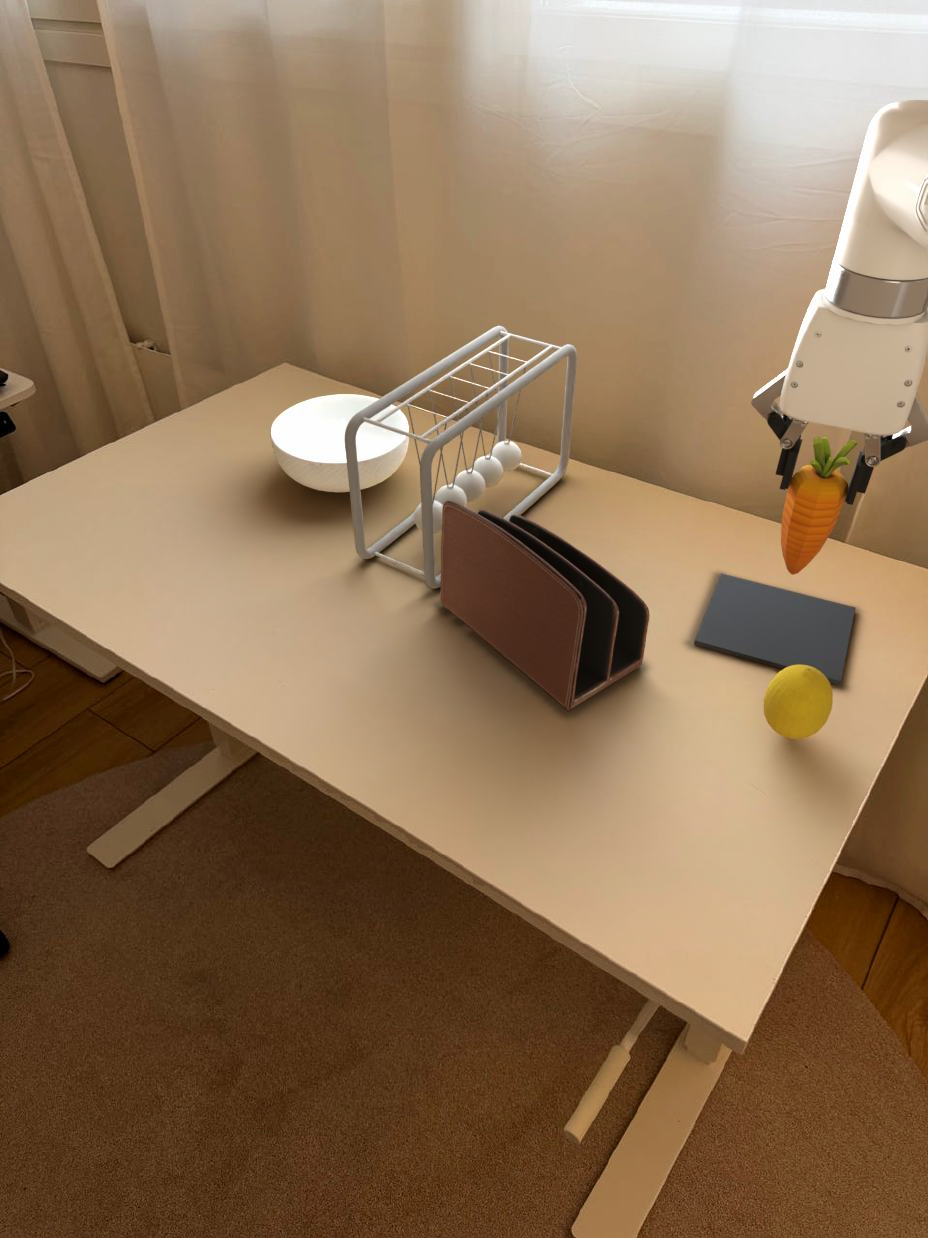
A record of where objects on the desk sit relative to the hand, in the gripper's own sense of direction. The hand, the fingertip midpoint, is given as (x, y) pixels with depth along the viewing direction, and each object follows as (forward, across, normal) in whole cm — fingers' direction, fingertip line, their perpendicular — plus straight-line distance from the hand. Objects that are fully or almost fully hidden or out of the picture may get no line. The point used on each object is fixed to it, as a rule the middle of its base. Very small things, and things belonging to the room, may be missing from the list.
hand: (818, 487), depth 80 cm
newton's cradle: (+17, +37, -5) cm, 41 cm away
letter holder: (+17, +22, +11) cm, 30 cm away
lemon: (+17, -3, +14) cm, 22 cm away
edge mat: (+17, 0, 0) cm, 17 cm away
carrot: (+10, 0, 0) cm, 10 cm away
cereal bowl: (+17, +55, -7) cm, 58 cm away
